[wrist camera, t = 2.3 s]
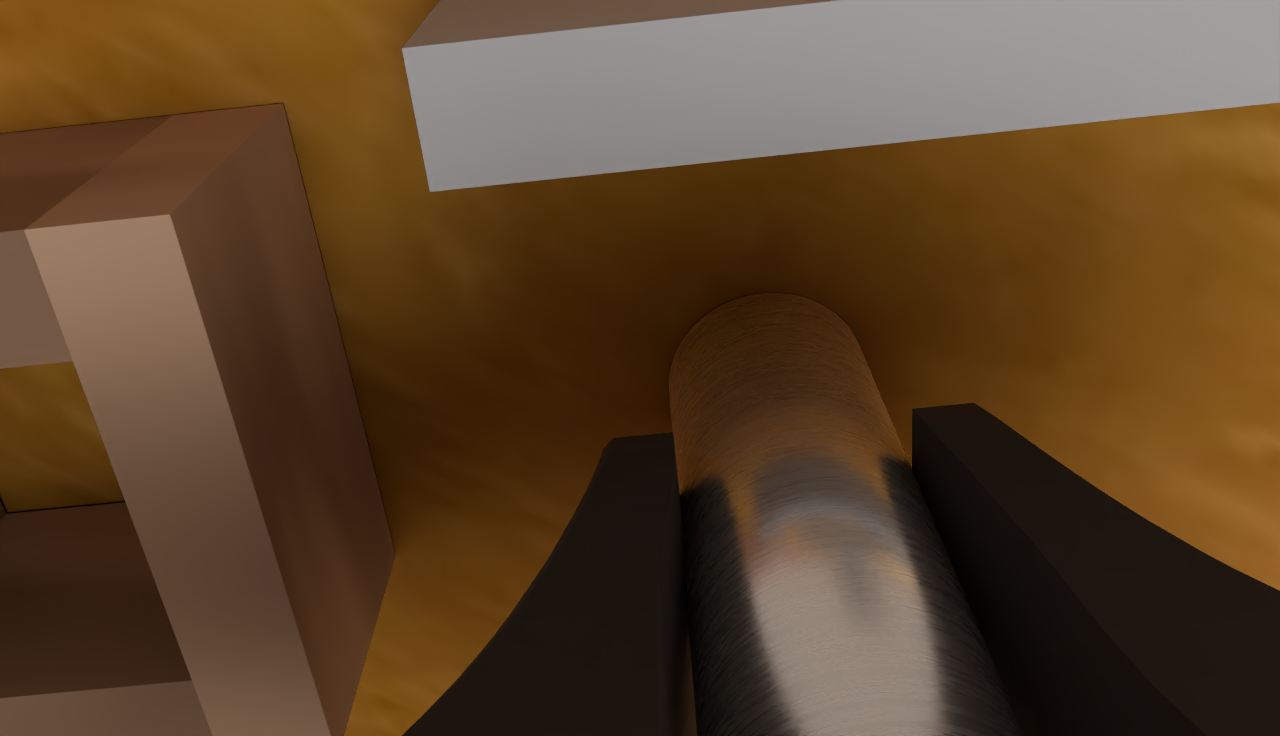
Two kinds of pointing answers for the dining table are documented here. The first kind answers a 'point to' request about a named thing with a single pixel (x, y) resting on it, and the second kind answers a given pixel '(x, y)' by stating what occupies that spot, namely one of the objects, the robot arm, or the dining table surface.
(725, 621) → the pin
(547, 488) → the dining table surface
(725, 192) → the dining table surface
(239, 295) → the square hole block
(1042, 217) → the dining table surface
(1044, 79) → the bay
